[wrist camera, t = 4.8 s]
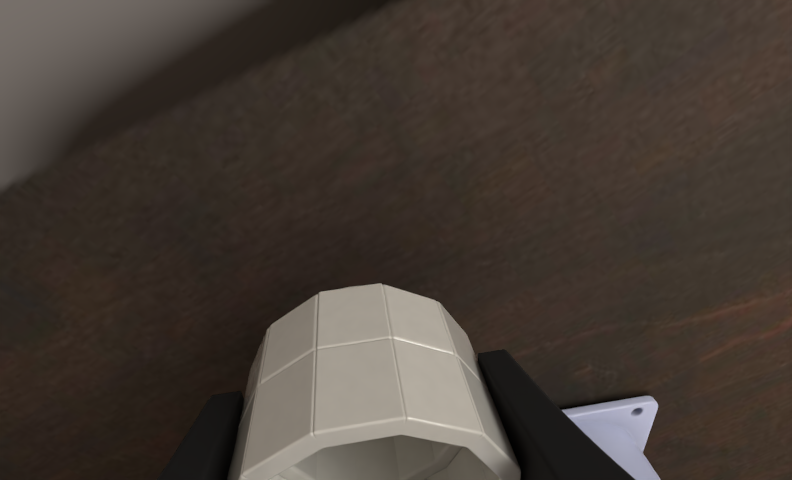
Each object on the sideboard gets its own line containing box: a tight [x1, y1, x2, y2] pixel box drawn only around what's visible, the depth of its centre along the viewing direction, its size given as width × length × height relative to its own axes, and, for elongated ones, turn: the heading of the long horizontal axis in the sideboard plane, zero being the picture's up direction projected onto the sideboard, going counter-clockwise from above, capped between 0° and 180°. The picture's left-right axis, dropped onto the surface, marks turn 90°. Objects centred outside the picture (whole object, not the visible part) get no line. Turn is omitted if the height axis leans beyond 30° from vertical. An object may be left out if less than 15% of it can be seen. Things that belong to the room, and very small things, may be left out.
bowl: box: [227, 283, 521, 480], centre depth 9 cm, size 5×5×4 cm
